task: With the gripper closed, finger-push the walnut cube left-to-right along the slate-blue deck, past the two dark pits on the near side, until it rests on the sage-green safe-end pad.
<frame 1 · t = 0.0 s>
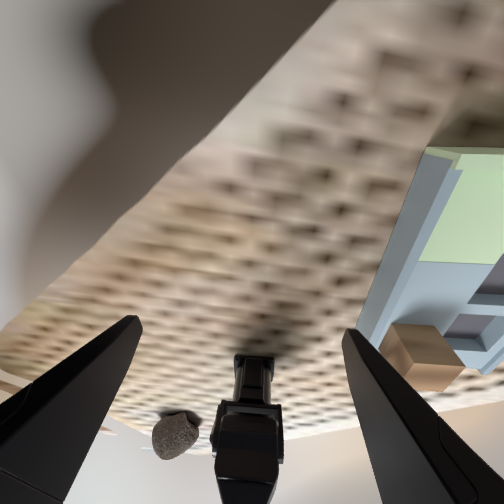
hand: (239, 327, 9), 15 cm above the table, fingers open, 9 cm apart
trap box: (456, 282, 25), on the table
block: (404, 337, 27), point 2 cm above the table, touching trap box
stone: (180, 418, 51), on the table
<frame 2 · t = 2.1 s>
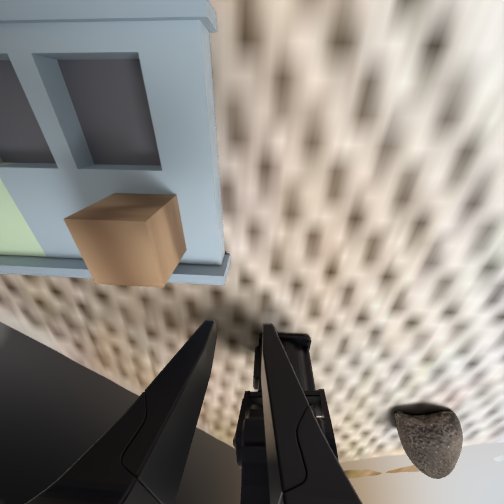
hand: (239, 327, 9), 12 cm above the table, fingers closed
trap box: (65, 166, 18), on the table
block: (152, 223, 18), point 2 cm above the table, touching trap box
stone: (418, 415, 37), on the table
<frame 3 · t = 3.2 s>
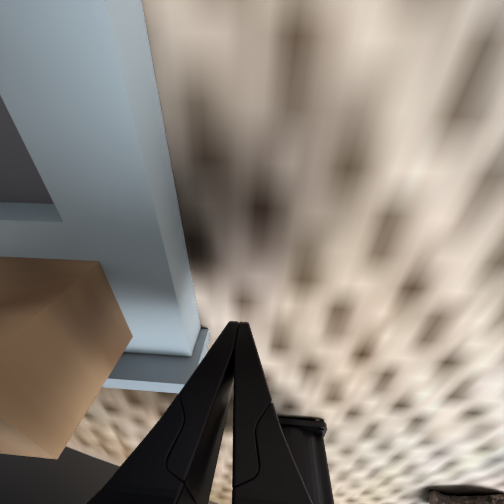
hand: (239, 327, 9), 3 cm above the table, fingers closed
block: (69, 300, 11), point 2 cm above the table, touching trap box
stone: (458, 493, 30), on the table
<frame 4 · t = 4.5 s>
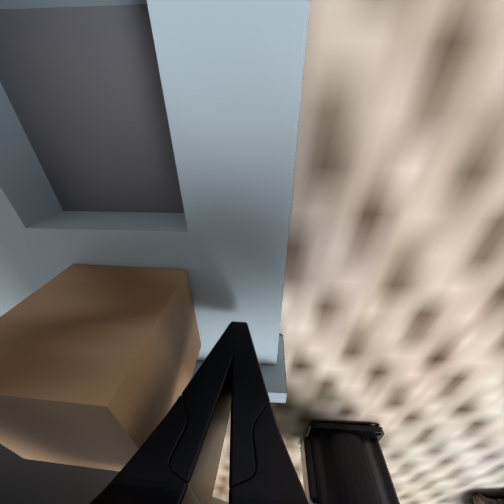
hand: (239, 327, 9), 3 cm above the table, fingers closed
trap box: (15, 213, 11), on the table
block: (144, 308, 10), point 2 cm above the table, touching gripper
stone: (501, 496, 29), on the table
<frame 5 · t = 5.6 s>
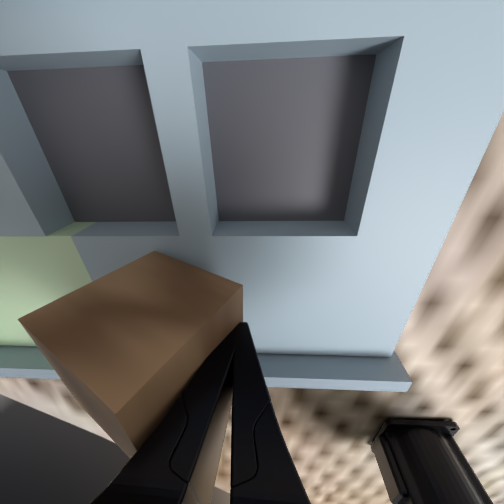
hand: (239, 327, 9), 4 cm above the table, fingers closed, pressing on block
trap box: (170, 224, 12), on the table
block: (199, 308, 11), point 3 cm above the table, tilted 27°, touching gripper
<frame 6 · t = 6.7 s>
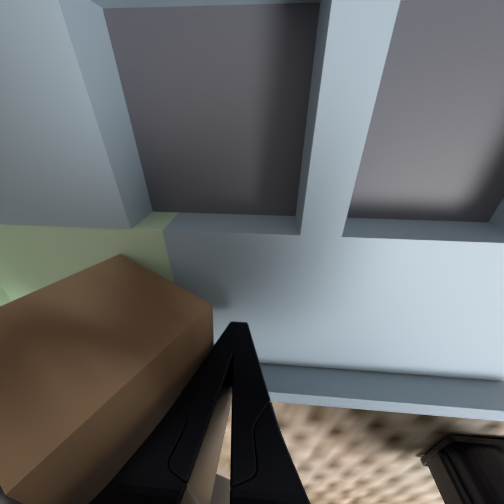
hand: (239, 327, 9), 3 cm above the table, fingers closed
trap box: (267, 218, 10), on the table
block: (169, 321, 9), point 3 cm above the table, tilted 27°, touching gripper
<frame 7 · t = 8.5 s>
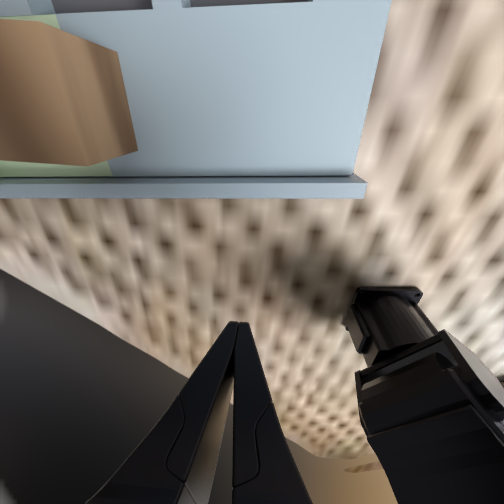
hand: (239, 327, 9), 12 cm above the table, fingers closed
trap box: (148, 29, 13), on the table
block: (88, 103, 13), point 2 cm above the table, touching trap box
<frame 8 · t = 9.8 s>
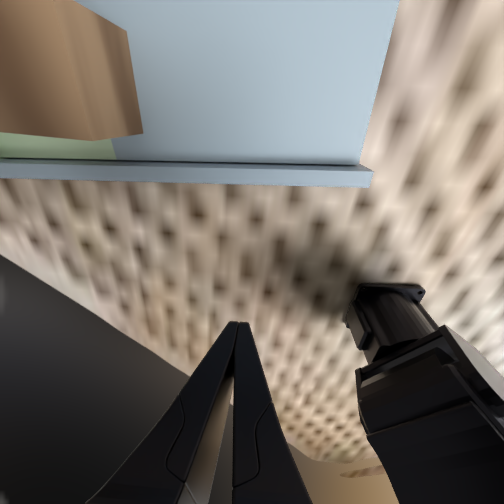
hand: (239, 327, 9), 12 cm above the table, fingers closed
trap box: (158, 11, 13), on the table
block: (95, 83, 13), point 2 cm above the table, touching trap box
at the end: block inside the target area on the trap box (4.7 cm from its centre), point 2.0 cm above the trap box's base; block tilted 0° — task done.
